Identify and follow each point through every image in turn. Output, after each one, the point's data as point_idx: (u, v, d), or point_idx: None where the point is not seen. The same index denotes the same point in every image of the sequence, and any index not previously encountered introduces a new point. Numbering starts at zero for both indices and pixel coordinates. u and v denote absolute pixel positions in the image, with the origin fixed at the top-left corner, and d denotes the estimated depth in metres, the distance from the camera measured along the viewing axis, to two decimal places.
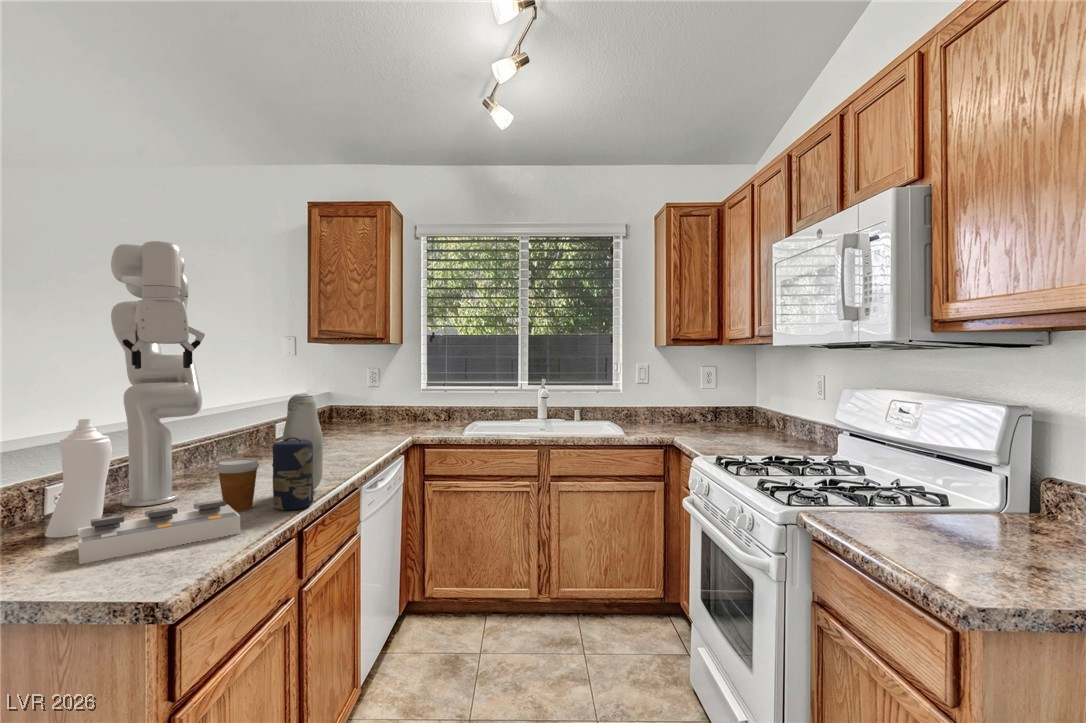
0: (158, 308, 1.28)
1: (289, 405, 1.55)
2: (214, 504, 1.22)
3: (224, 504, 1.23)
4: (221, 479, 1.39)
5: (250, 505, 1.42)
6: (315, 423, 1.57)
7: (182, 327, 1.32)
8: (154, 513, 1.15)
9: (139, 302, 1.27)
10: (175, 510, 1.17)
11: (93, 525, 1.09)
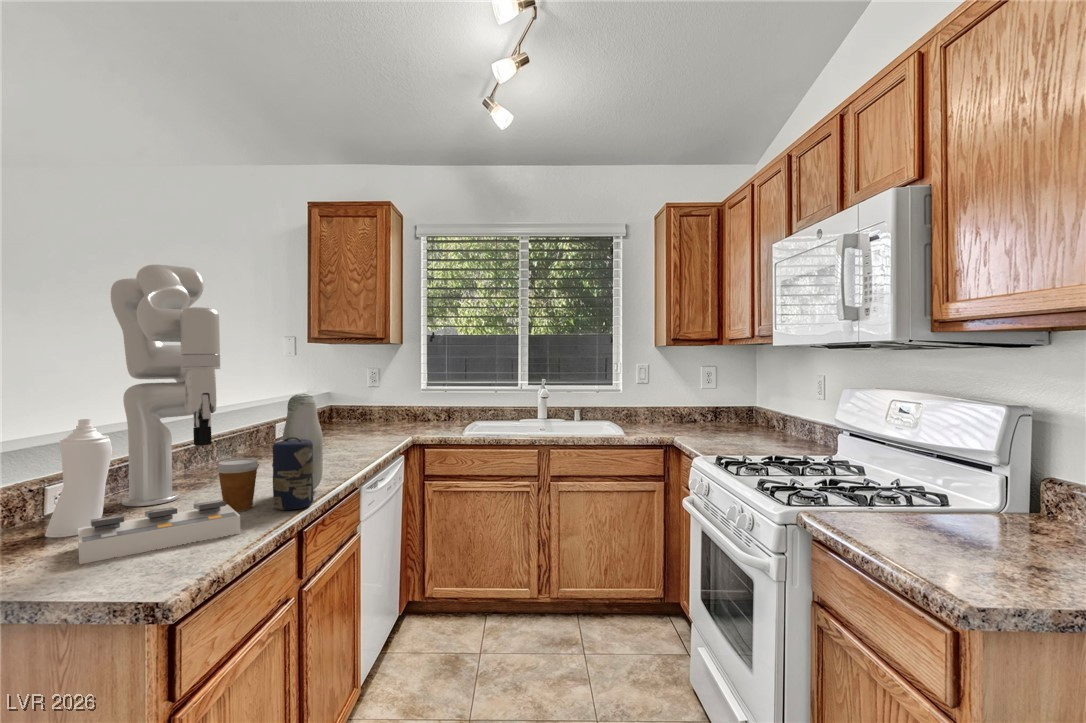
0: None
1: (289, 405, 1.55)
2: (214, 504, 1.22)
3: (224, 504, 1.23)
4: (221, 479, 1.39)
5: (250, 505, 1.42)
6: (315, 423, 1.57)
7: None
8: (154, 513, 1.15)
9: (207, 371, 1.22)
10: (175, 510, 1.17)
11: (93, 525, 1.09)
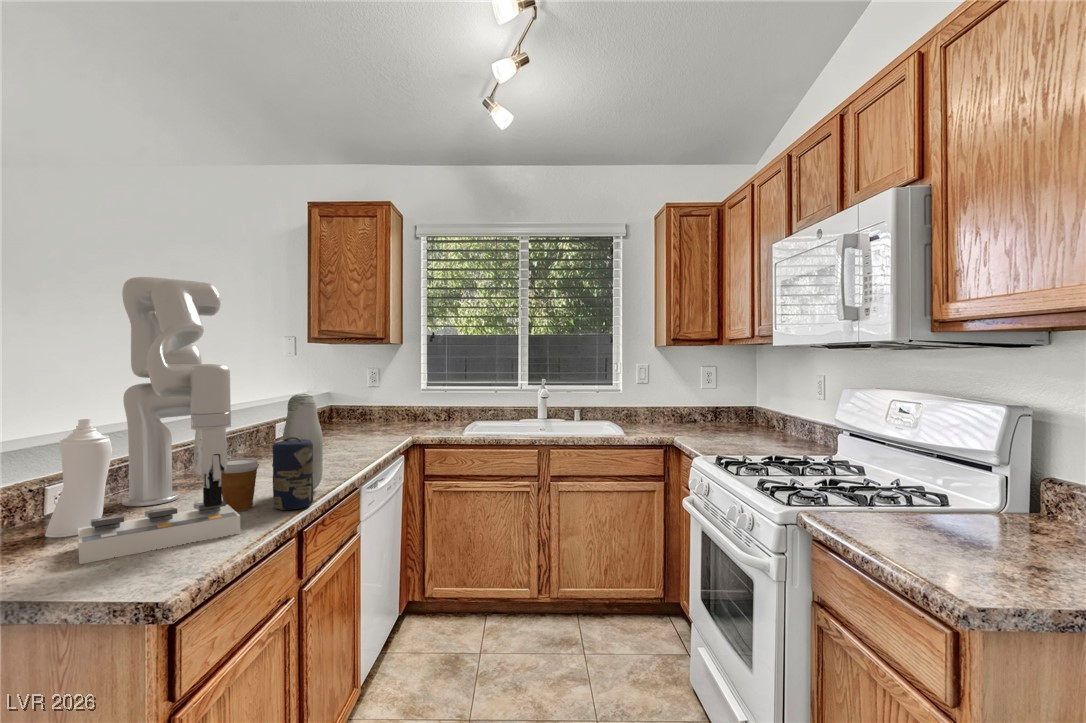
0: None
1: (289, 405, 1.55)
2: None
3: (224, 504, 1.23)
4: (221, 479, 1.39)
5: (250, 505, 1.42)
6: (315, 423, 1.57)
7: None
8: (154, 513, 1.15)
9: (218, 431, 1.19)
10: (175, 510, 1.17)
11: (93, 525, 1.09)
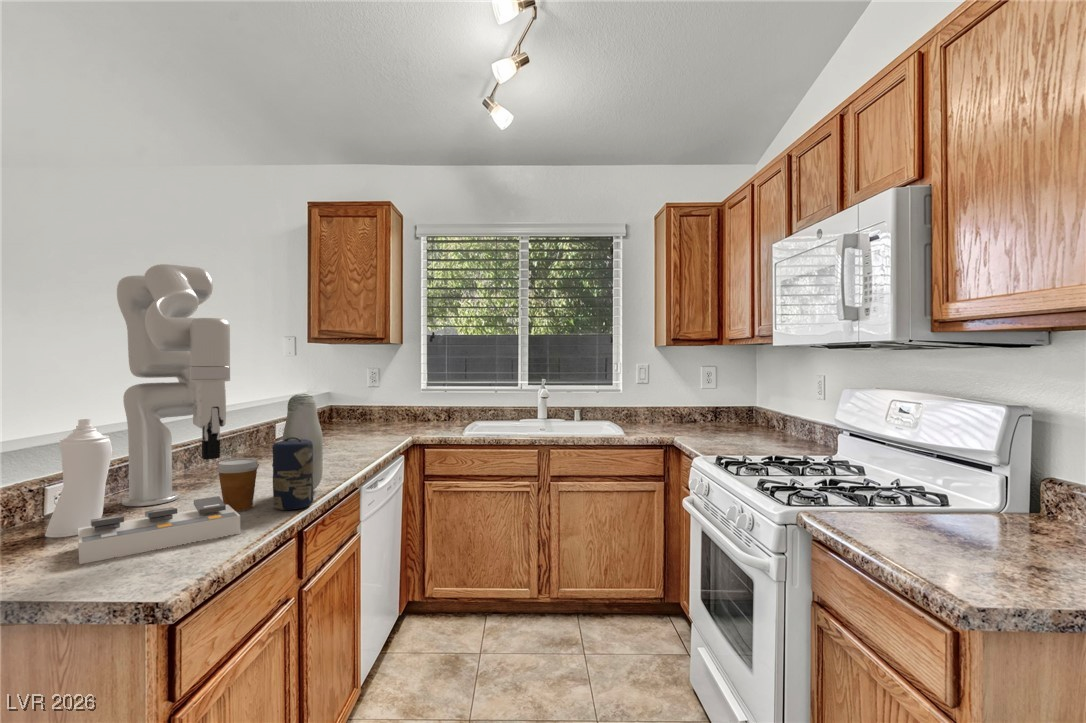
0: None
1: (289, 405, 1.55)
2: (214, 508, 1.22)
3: (224, 508, 1.23)
4: (221, 479, 1.39)
5: (250, 505, 1.42)
6: (315, 423, 1.57)
7: None
8: (154, 513, 1.15)
9: (217, 384, 1.19)
10: (175, 510, 1.17)
11: (93, 525, 1.09)
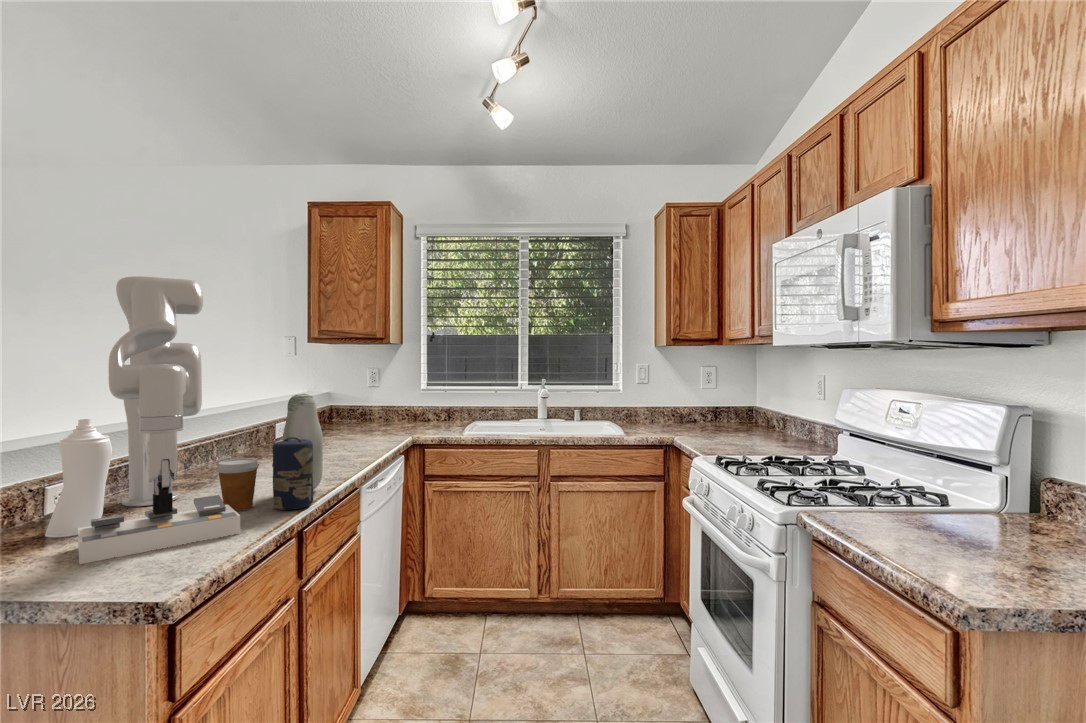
0: None
1: (289, 405, 1.55)
2: (214, 510, 1.22)
3: (224, 510, 1.23)
4: (221, 479, 1.39)
5: (250, 505, 1.42)
6: (315, 423, 1.57)
7: None
8: None
9: (167, 435, 1.13)
10: (175, 510, 1.17)
11: (93, 525, 1.09)
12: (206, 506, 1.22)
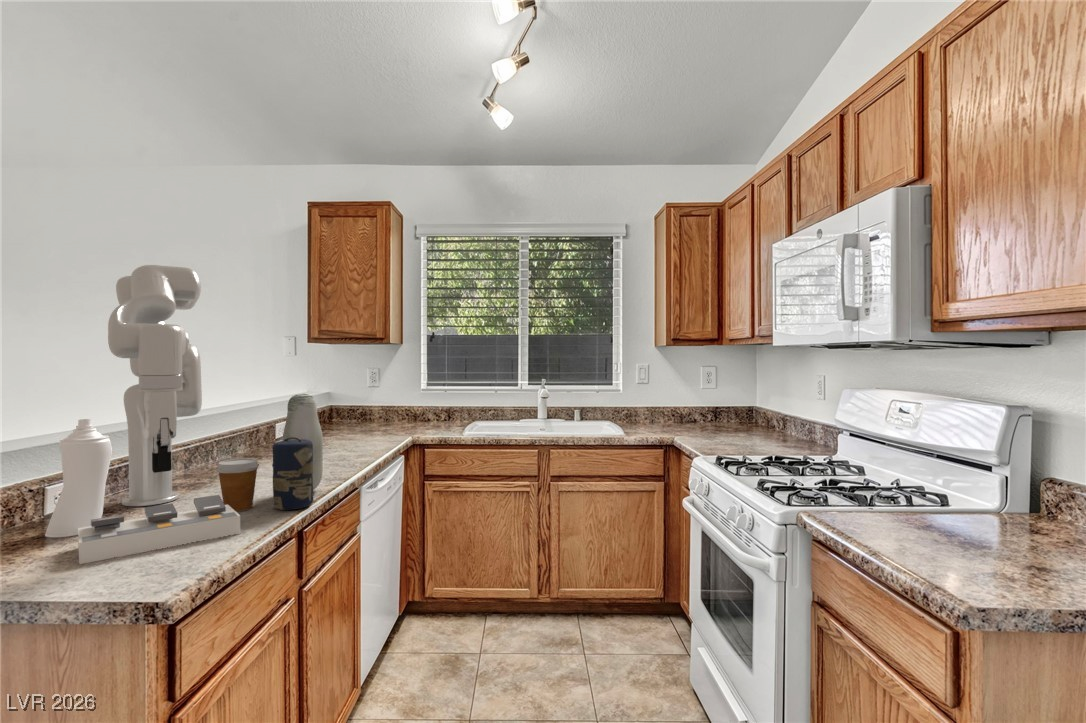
0: None
1: (289, 405, 1.55)
2: (214, 510, 1.22)
3: (224, 510, 1.23)
4: (221, 479, 1.39)
5: (250, 505, 1.42)
6: (315, 423, 1.57)
7: None
8: (154, 517, 1.15)
9: (166, 394, 1.13)
10: (175, 514, 1.17)
11: (93, 525, 1.09)
12: (206, 506, 1.22)
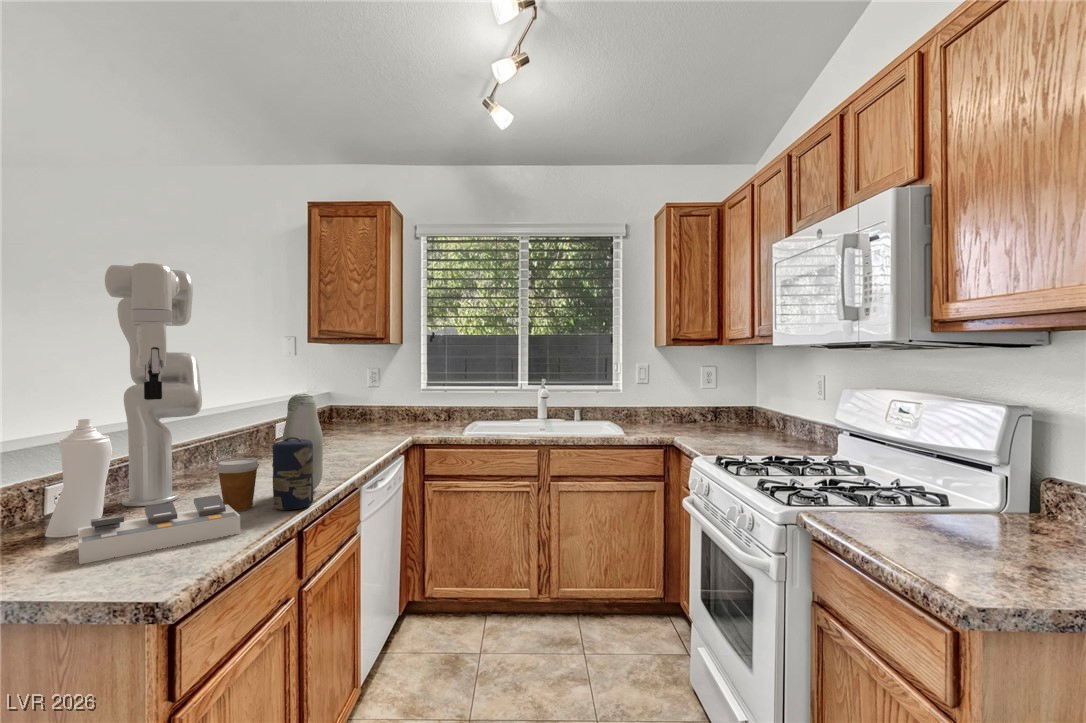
0: None
1: (289, 405, 1.55)
2: (214, 510, 1.22)
3: (224, 510, 1.23)
4: (221, 479, 1.39)
5: (250, 505, 1.42)
6: (315, 423, 1.57)
7: None
8: (154, 519, 1.15)
9: (157, 326, 1.24)
10: (175, 515, 1.17)
11: (93, 525, 1.09)
12: (206, 506, 1.22)
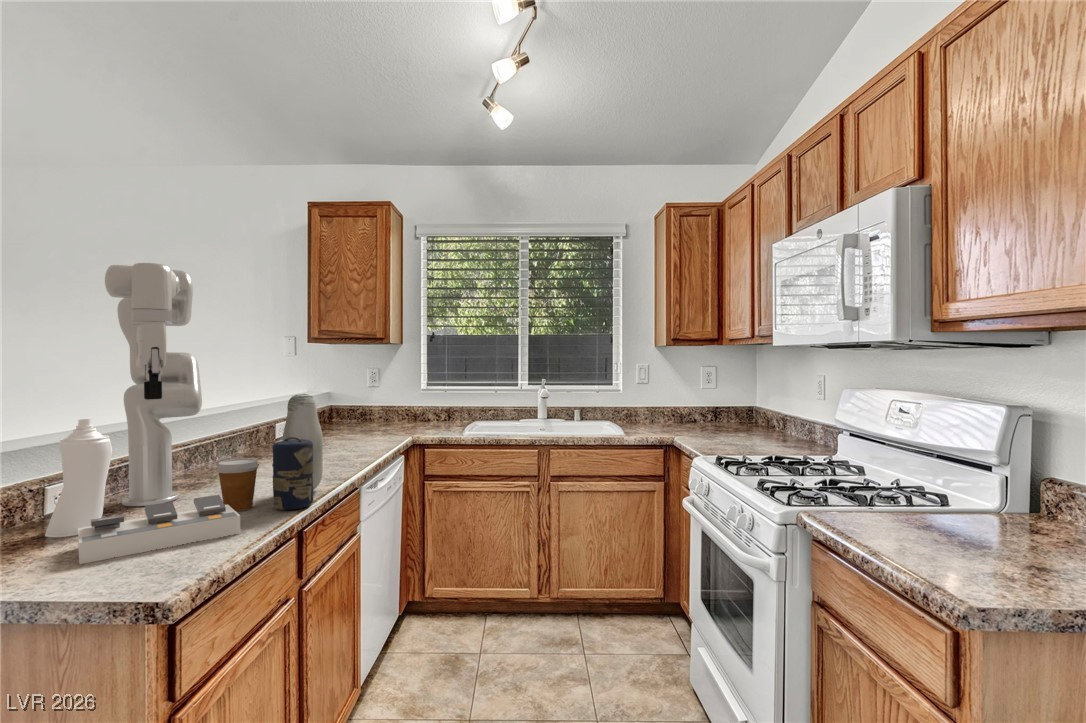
0: None
1: (289, 405, 1.55)
2: (214, 510, 1.22)
3: (224, 510, 1.23)
4: (221, 479, 1.39)
5: (250, 505, 1.42)
6: (315, 423, 1.57)
7: None
8: (154, 519, 1.15)
9: (157, 326, 1.24)
10: (175, 516, 1.17)
11: (93, 525, 1.09)
12: (206, 506, 1.22)
